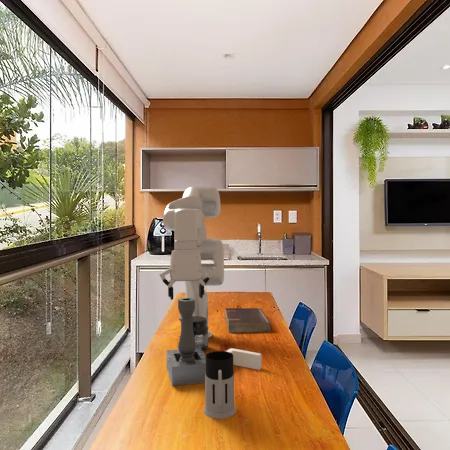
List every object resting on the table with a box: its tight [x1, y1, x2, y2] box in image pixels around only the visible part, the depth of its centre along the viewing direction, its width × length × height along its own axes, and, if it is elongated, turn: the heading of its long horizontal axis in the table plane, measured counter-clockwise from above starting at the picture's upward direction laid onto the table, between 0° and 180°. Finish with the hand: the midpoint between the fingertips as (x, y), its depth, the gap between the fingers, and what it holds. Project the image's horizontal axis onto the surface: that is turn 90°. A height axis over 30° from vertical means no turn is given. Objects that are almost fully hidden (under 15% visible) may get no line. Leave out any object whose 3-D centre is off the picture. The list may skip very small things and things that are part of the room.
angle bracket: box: [225, 348, 262, 371], centre depth 143 cm, size 10×17×5 cm, turn 104°
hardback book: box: [224, 307, 272, 334], centre depth 199 cm, size 29×19×5 cm, turn 3°
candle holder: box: [177, 297, 196, 362], centre depth 136 cm, size 6×6×25 cm
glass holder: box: [203, 350, 237, 420], centre depth 108 cm, size 9×14×15 cm, turn 2°
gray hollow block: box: [166, 347, 206, 387], centre depth 136 cm, size 16×12×6 cm
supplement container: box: [193, 316, 209, 352], centre depth 162 cm, size 10×10×12 cm
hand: (186, 298), depth 135 cm, fingers open, 9 cm apart
